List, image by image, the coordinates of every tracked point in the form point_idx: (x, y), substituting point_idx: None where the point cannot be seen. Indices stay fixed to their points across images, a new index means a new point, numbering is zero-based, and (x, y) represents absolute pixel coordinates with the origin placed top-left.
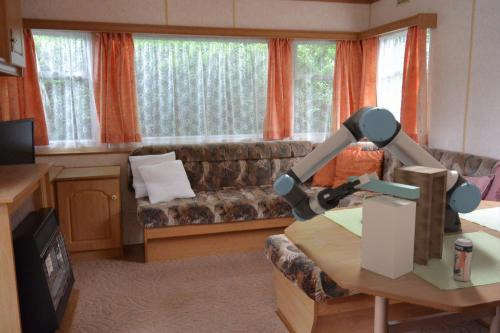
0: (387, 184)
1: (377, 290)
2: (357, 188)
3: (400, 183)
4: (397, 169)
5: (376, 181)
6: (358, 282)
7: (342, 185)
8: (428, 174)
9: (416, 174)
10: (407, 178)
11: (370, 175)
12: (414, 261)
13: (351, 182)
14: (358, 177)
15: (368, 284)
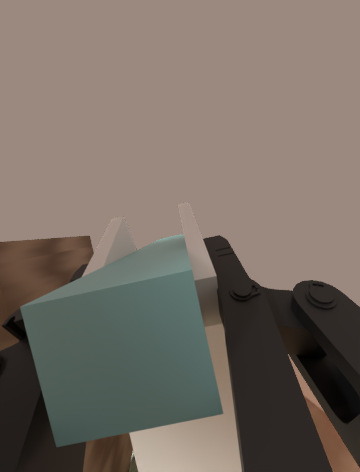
0: (183, 236)
1: (304, 396)
2: (79, 448)
3: (39, 295)
4: (12, 244)
5: (171, 241)
6: (345, 451)
7: (349, 313)
8: (88, 238)
9: (71, 244)
10: (54, 265)
11: (120, 238)
12: (126, 469)
13: (242, 268)
14: (198, 228)
15: (316, 427)
